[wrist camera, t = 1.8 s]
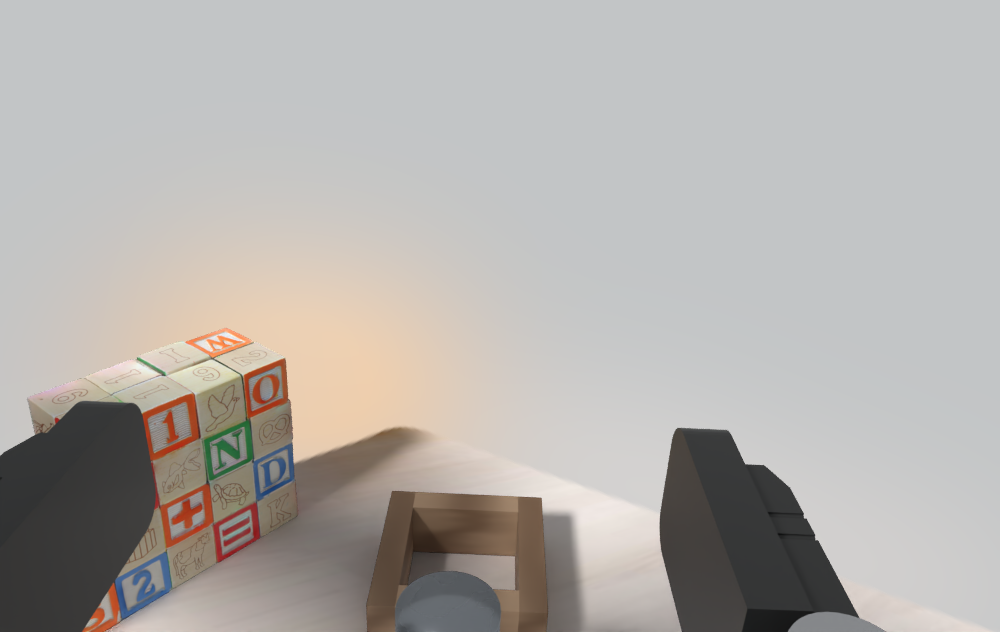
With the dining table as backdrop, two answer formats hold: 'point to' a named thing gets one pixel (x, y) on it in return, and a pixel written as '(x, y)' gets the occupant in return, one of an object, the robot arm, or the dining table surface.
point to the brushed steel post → (448, 605)
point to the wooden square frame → (463, 550)
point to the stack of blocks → (195, 456)
